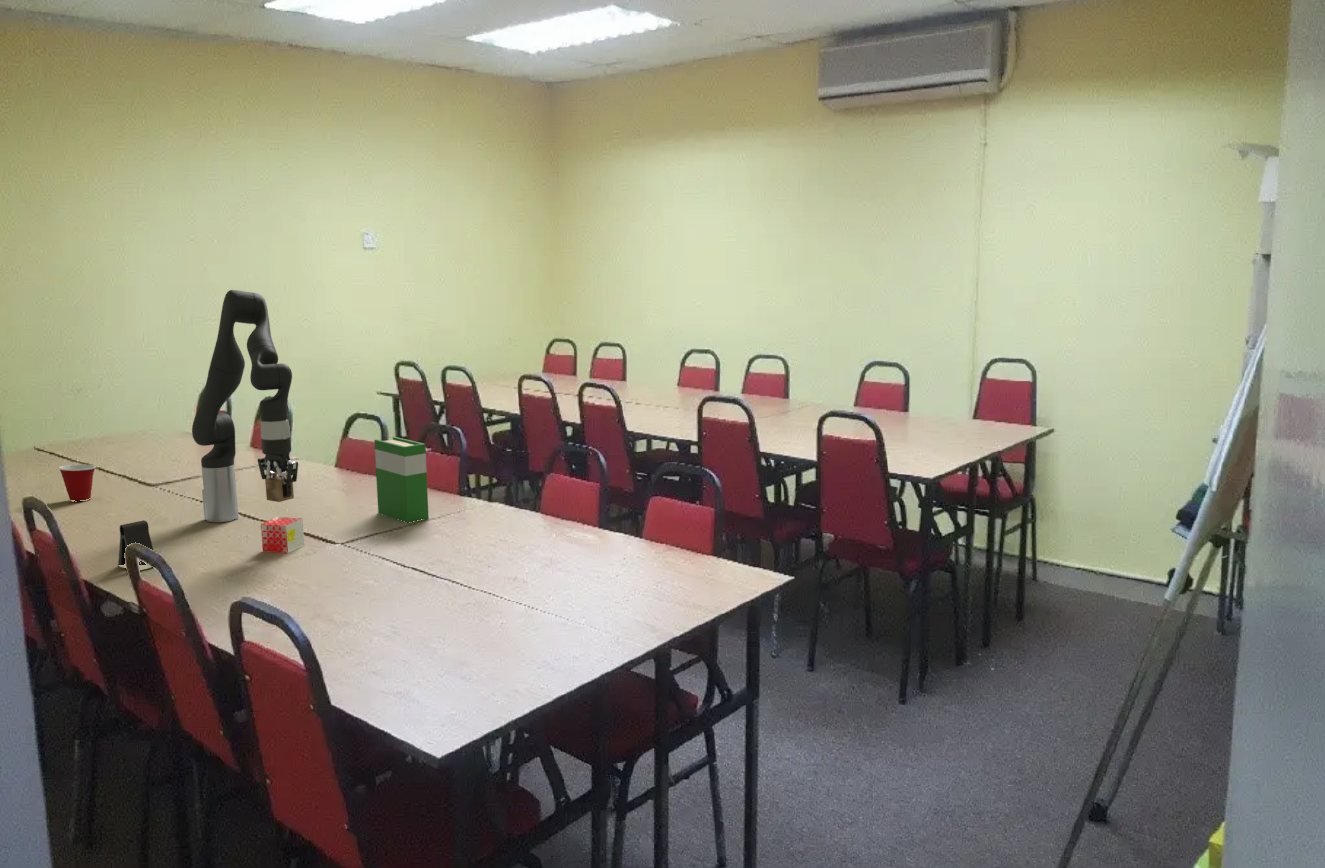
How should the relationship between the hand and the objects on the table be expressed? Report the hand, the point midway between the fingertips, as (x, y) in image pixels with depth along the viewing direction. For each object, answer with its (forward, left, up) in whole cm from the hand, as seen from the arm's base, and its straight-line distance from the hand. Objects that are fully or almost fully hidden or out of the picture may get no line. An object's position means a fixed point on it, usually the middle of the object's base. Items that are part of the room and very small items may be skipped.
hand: (280, 495), depth 263 cm
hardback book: (+5, +42, -15) cm, 45 cm away
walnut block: (0, 0, -1) cm, 1 cm away
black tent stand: (-20, -30, -15) cm, 39 cm away
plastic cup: (-105, +5, -15) cm, 106 cm away
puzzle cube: (0, 0, -15) cm, 15 cm away
